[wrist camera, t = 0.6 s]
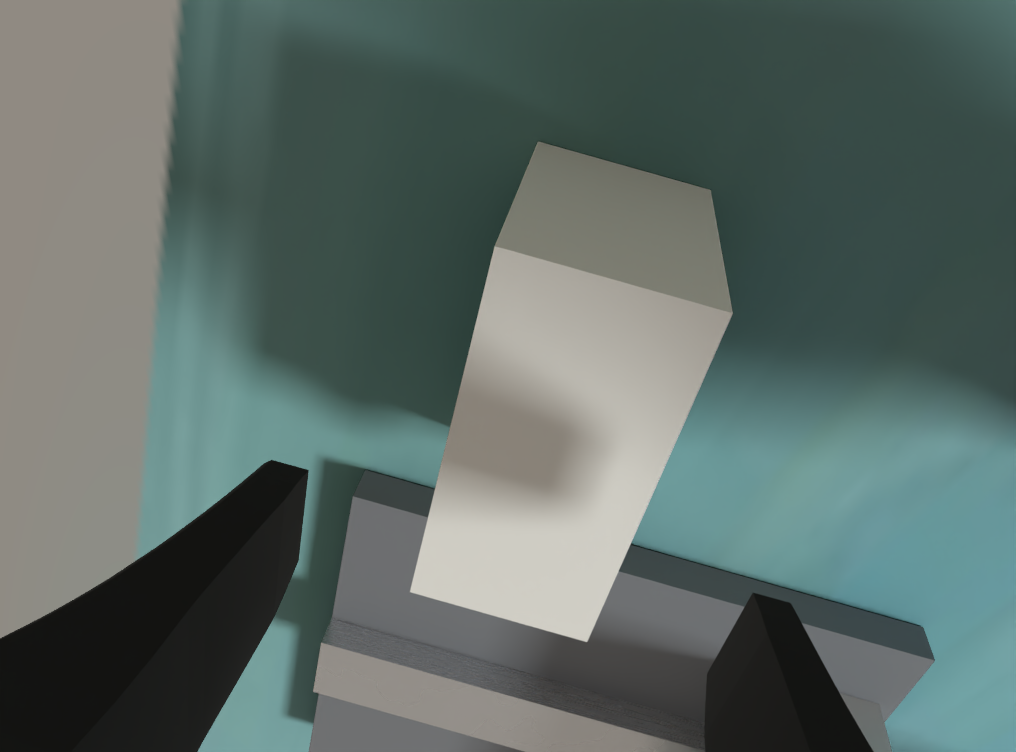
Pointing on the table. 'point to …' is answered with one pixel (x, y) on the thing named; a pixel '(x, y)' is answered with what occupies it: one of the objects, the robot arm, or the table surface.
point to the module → (573, 389)
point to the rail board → (560, 653)
